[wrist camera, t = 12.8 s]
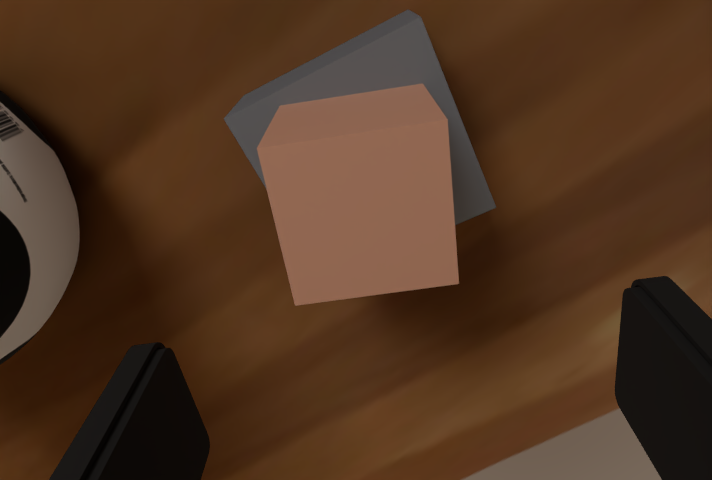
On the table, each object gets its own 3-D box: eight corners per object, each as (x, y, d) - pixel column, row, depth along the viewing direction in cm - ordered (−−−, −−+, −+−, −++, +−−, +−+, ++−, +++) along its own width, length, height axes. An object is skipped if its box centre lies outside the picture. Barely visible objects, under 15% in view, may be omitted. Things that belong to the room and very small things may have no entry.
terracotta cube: (422, 83, 21) (447, 119, 16) (434, 215, 24) (459, 283, 19) (279, 105, 22) (256, 148, 16) (307, 232, 24) (295, 305, 19)
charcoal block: (407, 9, 25) (420, 16, 20) (473, 170, 28) (496, 207, 24) (244, 94, 26) (223, 118, 22) (327, 236, 30) (323, 281, 26)
